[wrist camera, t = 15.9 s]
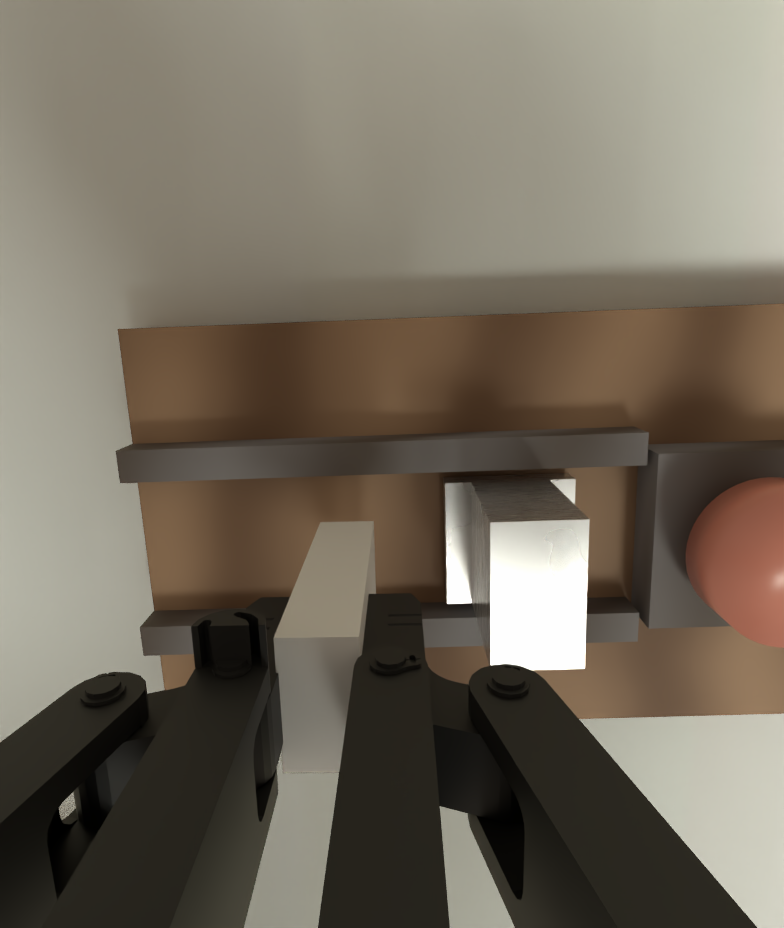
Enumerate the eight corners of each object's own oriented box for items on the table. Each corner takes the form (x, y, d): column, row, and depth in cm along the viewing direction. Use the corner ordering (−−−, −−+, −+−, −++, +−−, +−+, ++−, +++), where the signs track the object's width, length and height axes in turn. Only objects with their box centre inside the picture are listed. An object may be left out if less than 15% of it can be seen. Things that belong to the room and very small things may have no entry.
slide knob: (568, 473, 19) (622, 518, 15) (565, 589, 20) (615, 667, 16) (443, 477, 19) (456, 523, 15) (445, 593, 20) (459, 672, 16)
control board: (1225, 288, 20) (1450, 276, 16) (1131, 671, 23) (1299, 748, 19) (144, 329, 21) (77, 329, 16) (188, 696, 24) (142, 777, 19)
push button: (847, 474, 17) (892, 488, 16) (829, 618, 18) (870, 645, 17) (690, 479, 17) (719, 495, 16) (680, 622, 18) (707, 649, 17)
